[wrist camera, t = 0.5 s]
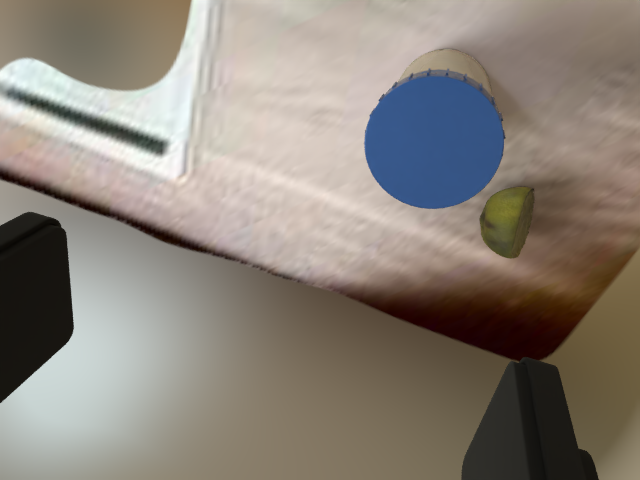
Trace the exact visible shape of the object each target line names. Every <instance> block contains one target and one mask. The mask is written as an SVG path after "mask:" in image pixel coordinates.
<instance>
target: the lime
mask: <svg viewBox="0 0 640 480" xmlns="http://www.w3.org/2000/svg"><path fill="white" fill-rule="evenodd" d="M533 191H534V189H531V188H528V187H514V188H508V189H504V190H502V191H499V192H497V193H496V194H494V195H493V196H492V197H491V198H490V199H489V200H488V201H487V203H486V206H485V208H484V210H483V212H482V214H481V216H480V224H481V235H482V238H483V240H484V242H485V243H486V245H487V246H488V247H489V248H490V249H491V250H492V251H494V252H495V253H497V254H499V255H500V256H503V257H506V258H516V257H518V256H519V254H520V252H521V249H522V248H523V245H524V244H525V241H526V238H527V235H528V233H529V232H528V230H529V227H530V224H531V220H532V210H533V203H534V193H533Z"/></svg>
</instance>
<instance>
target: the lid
mask: <svg viewBox="0 0 640 480" xmlns="http://www.w3.org/2000/svg"><path fill="white" fill-rule="evenodd" d="M501 121H503V118H502V114H501V112H500V113H499V111H498V108H497V105H496V104H495V99H494V97H491V95H490V94H489V93H488V92H487V90H486V89H485V88H484V87H483V84H482V83H480V84H479V83H478V82H476V81H475V80H474V79H472V78H470V77H468V76H467V74H466V73H465V75H464V74H461V73H458V72H454V71H450V70H449V69H448V68H447V70H440V69H437V70H431V68H429V69H428V70H427V71H421V72H418V73H415V74H413V73H411V74H410V76H408V77H406V78H404V79H402V80H401V81H399V82H398V83H397V82H395V83H394V85H393V86H392V88H390V89H389V90H388V92H387V93H386V94H385V95H384V94H383V95H382V96H381V98H380V99H379V103H378V105H377V106H376V108H375V109H374V110H373V111H372V113H371V114H370V119H369V122H368V124H367V128H366V131H365V142H364V145H365V155H366V160H367V163H368V166H369V169H370V171H371V173H372V175H373V176H374V178H375V179H376V181H377V182H378V183H379V185H380V186H381V187H382V188H383V189H384V190H385V191H386V192H387V193H388V194H390V195H391V196H393V197H394V198H396V199H398V200H399V201H401V202H403V203H406V204H408V205H411V206H415V207H419V208H427V209H437V208H446V207H450V206H454V205H457V204H460V203H462V202H464V201H466V200H468V199H470V198H471V197H473V196H475V195H476V194H477V193H479V192H480V191H481V190H482V189H483V188H484V187H485V186H486V185H487V184H488V183H489V182H490V180H491V179H492V177H493V176H494V174H495V173H496V171H497V169H498V167H499V164H500V161H501V159H502V156H503V149H504V139H505V133H504V130H503V127H502V122H501Z"/></svg>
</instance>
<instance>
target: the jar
mask: <svg viewBox="0 0 640 480" xmlns="http://www.w3.org/2000/svg"><path fill="white" fill-rule="evenodd" d="M429 68H431V70H437V69H440V70H447V68H448V69H449V70H450V71H454V72H458V73H461V74H464V75H465V73H466V74H467V76H468V77H470V78H472V79H474V80H475V81H476V82H478V83H479V84H480V83H482V84H483V87H484V88H485V89H486V90H487V92H488V93H489V94H490V95H491V97H492V93H491V87H490V82H489V79H488V76H487V74H486V72H485V70H484V69H483V67H482V66H481V65H480V64H479V63H478V62H477V61H476V60H475V59H474V58H472V57H471V56H469V55H467V54H466V53H463V52H460V51H457V50H451V49H441V50H435V51H431V52H428V53H426V54H424V55H422V56H420V57H419V58H417V59H416V60H414V61H413V62H412V63H411V64H410V65H409V66H408V67H407V68H406V70H405V71H404V73H403V74H402V76H401V77H400V79H399V80H398V82H399V81H401V80H402V79H404V78H406V77H408V76H410V74H411V73H413V74H415V73H418V72H421V71H427V70H428V69H429ZM398 82H397V83H398Z"/></svg>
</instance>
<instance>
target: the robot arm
mask: <svg viewBox="0 0 640 480" xmlns="http://www.w3.org/2000/svg"><path fill="white" fill-rule="evenodd" d="M73 329H74V325H73V311H72V298H71V286H70V274H69V261H68V248H67V237H66V232H65V230H64V229H63V228H61V224H60V223H59V221H58V220H56V219H54V218H51V217H47V216H44V215H40V214H37V213H34V212H27V213H24V214H22V215H20V216H18V217H16V218H14V219H12V220H10V221H8V222H7V223H5V224H3V225H1V226H0V403H1V402H2V401H3V400H4V399H6V398H7V397H8V396H9V395H10V394H11V393H12V392H13V391H14V390H16V389H17V388H18V387H19V386H20V385H21V384H22V383H23V382H24V381H25V380H27V379H28V378H29V377H30V376H31V375H32V374H33V373H34V372H35V371H37V370H38V369H39V368H40V367H41V366H42V365H43V364H44V363H45V362H47V361H48V360H49V359H50V358H51V357H52V356H53V355H54V354H55V353H56V352H58V351H59V350H60V349H61V348H62V347H63V346H64V345H65V344H66V343H67V342H68V341H69V339H70V338H71V336H72V334H73ZM462 480H599V479H598V475H597V472H596V468H595V465H594V462H593V460H592V457H591V455H590V454H589V453H588V452H587V451H585V450H582V449H578V446H577V442H576V438H575V434H574V430H573V426H572V422H571V418H570V414H569V410H568V406H567V402H566V398H565V394H564V390H563V386H562V382H561V378H560V375H559V371H558V369H557V367H556V366H554V365H551V364H548V363H544V362H541V361H537V360H534V359H531V358H527V357H523V358H522V359H521V360H520V362H519V363H517V362H513V361H511V362H510V363H509V364H508V366H507V368H506V370H505V372H504V374H503V376H502V378H501V381H500V383H499V385H498V387H497V389H496V391H495V393H494V395H493V397H492V400H491V402H490V404H489V406H488V408H487V410H486V413H485V414H484V416H483V419H482V421H481V423H480V425H479V427H478V429H477V431H476V434H475V436H474V438H473V440H472V442H471V444H470V446H469V448H468V450H467V452H466V455H465V458H464V461H463V466H462Z"/></svg>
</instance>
